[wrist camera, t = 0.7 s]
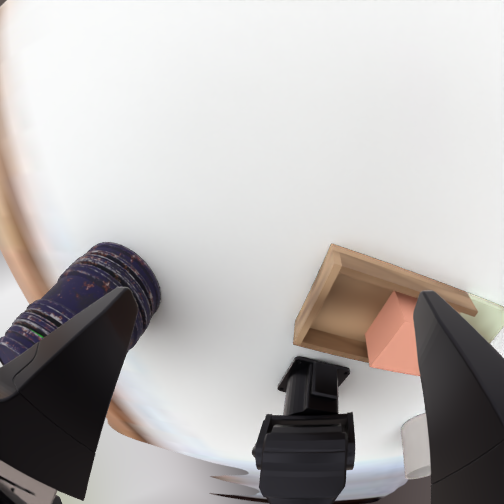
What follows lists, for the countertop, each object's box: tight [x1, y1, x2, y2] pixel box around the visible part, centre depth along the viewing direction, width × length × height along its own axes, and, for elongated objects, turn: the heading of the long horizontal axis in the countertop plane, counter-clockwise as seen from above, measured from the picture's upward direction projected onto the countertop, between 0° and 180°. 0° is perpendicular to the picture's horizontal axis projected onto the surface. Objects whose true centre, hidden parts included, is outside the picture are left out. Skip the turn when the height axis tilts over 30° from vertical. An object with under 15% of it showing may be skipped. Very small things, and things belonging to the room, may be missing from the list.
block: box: [365, 290, 420, 376], centre depth 22 cm, size 6×6×4 cm
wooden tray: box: [293, 244, 504, 363], centre depth 23 cm, size 9×23×3 cm, turn 75°
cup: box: [401, 413, 431, 479], centre depth 31 cm, size 7×10×9 cm
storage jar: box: [0, 242, 161, 366], centre depth 22 cm, size 10×10×15 cm
